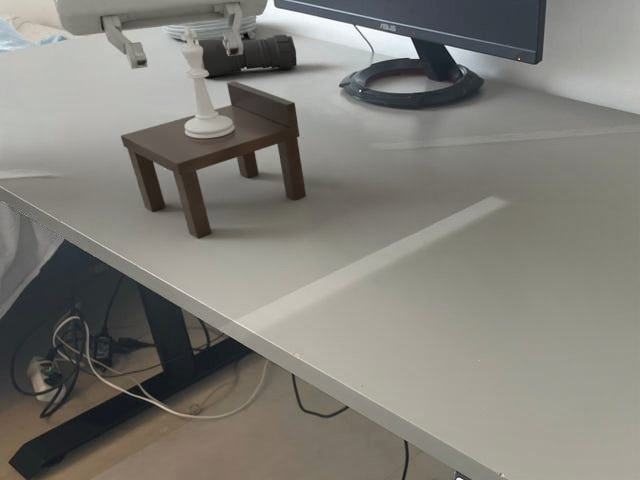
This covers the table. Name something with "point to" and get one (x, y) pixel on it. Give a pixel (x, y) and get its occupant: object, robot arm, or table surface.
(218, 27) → the cable
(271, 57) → the flashlight
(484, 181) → the table surface
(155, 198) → the wooden bench with backrest
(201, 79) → the chess piece
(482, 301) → the table surface
